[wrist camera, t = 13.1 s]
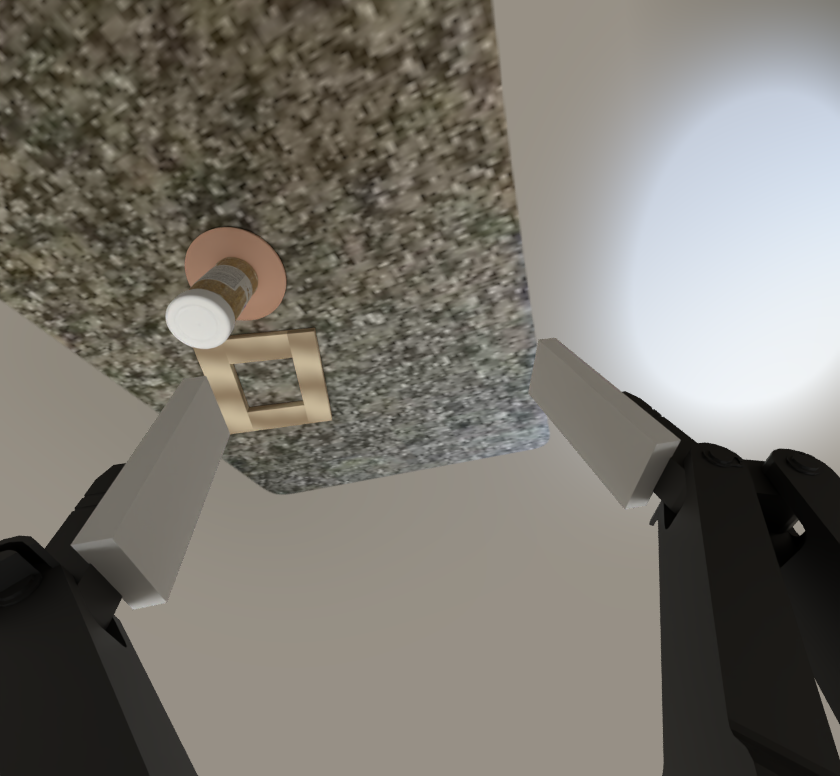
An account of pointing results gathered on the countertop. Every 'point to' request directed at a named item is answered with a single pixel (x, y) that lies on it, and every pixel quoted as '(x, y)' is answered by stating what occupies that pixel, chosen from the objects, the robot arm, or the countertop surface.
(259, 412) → the collar board
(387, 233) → the countertop surface
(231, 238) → the coaster
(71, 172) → the countertop surface
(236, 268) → the sprinkles bottle
